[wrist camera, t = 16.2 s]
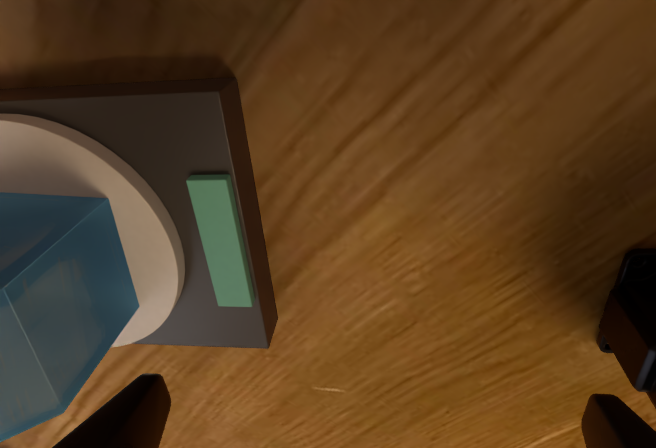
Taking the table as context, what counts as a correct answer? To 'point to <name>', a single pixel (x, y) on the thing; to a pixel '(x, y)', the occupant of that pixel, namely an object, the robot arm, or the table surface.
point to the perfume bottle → (56, 301)
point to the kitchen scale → (156, 197)
